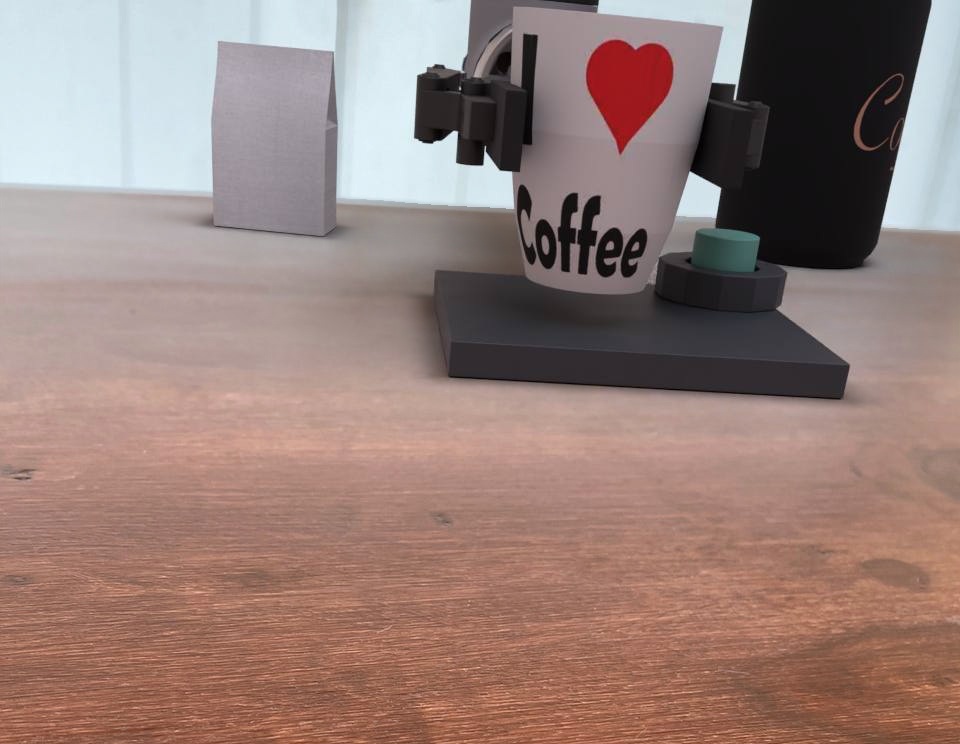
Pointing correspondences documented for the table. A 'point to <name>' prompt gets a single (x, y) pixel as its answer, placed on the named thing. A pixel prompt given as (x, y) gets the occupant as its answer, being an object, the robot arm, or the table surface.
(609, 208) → the cup
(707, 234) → the button
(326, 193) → the grey paper bag
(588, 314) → the scale
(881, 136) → the coffee jar
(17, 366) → the table surface
